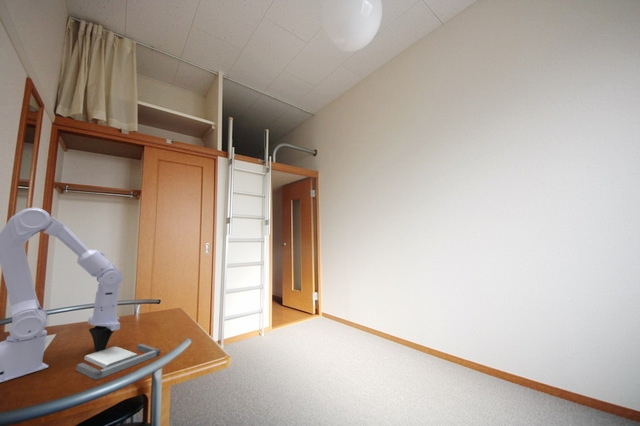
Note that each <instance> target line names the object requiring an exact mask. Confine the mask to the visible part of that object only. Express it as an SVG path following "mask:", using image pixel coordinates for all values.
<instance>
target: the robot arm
mask: <svg viewBox="0 0 640 426" xmlns="http://www.w3.org/2000/svg"><path fill="white" fill-rule="evenodd" d="M42 231H43V234H46V235H49V236H52V237H56V238H57V239H58V240H59V241H60V242H62V243H63V244H64V245H65V246H66V247H67V248H69V250H71V251H72V252H73V253H74V254H75V255H77V261H76V263H77V264H78V265H79V266H81V268H82V269H83V270H84V271H86V272H87V273H88V274H89V275H90V276H91V277H93V278H96V281H97V282H98V284H97V291H96V293H95V300H94V305H93V312H92V313H93V314H92V316H89V317H88V319H87V320H88V321H87V324H88V325H91V326H94V327H91V328H89V330H88V331H89V333H90V334H91V337H92V341H93V347H94V348H93V349H94V352H98V351H101V350H105V349H107V345H108V343H109V340H110V338H111V337H112V335H113V333H114V332H115V331H118V330H120V328H121V322H119V320H120V317H119V316H117V309H118V301H119V295H120V294H119V293H120V284H121V282H122V281H123V279H124V277H123V274H122V272H121V271H120V270H119V269H118V268H116V264H115V263H111V262H110V260H108V258H106V256H105V255H106V254H105V253H104V252H103V251H99V250H98V249H89V248H88V247H87V246H86V244H84V242H82V240H80V239H79V238H78V237H77V236H76V235H75V233H74V232H73V231H71V229H69V227H67V225H65V224H64V223H63V222H61V221H59V220H58V219H57V218H55V217H54V216H52V217H51V215H50V213H49V212H47V211H46V210H45V209H42V208H39V207H27V208H24V209H22V210H19V212H17V213H15V214H14V215H12V216H11V217H10V218H9V219H8V221H7V223H6V224H5V226H4V227H3V228H2V230H1V231H0V268H1V272H2V277H3V280H4V283H5V287H6V290H7V295H8V299H9V303H10V306H11V307H10V309H11V313H10V314H11V319H12V323H11V325H10V327H9V332H8V333H9V335H8V336H7V337H6V339H5V340H3V341H0V383H2V382H3V383H4V382H7V381H9V380H13V379H16V378H19V377H23V376H25V375H28V374H32V373H34V372H38V371H41V370H45V369H47V368H49V364H46V362H43V360H44V359H43V358H44V354H45V347H46V342H47V337H48V335H47V334H48V331H47V330H46V329H45V328H46V326H47V320H48V312H47V311H46V310H45V309H43V308H42V307H41V305H40V301H39V299H38V296H37V293H36V288H35V284H34V279H33V276H32V271H31V269H30V264H29V261H28V260H29V259H28V255H27V253H26V248H25V243H27V242H28V241H29V240H30V239H31V238H33V237H34V235H36V234H38V233H40V232H42Z"/></svg>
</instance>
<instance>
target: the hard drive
mask: <svg viewBox="0 0 640 426" xmlns="http://www.w3.org/2000/svg"><path fill="white" fill-rule="evenodd" d="M137 356H139V354H137V353H135V352H133V351H130V350H127V349H125V348H122V347H119V346H112V347H109V348H105V350H101V351H98V352H96V351H94V352H93V353H89V354H87V355H84V361H87V362H89V363H91V364H93V365H96V366H98V367H99V368H102V369H104V368H107V367H110V366H113V365H115V364H118V363H121V362H123V361H126V360H129V359H132V358H134V357H137Z"/></svg>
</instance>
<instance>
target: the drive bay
mask: <svg viewBox="0 0 640 426" xmlns="http://www.w3.org/2000/svg"><path fill="white" fill-rule="evenodd" d="M136 350H137V351H140V352H143V354H140V355H138V356H137V357H134V358H132V359H129V360H126V361H123V362H121V363H118V364H115V365H113V366H110V367H107V368H102V369H97V368H95V367H93V366H91V365H89V364H87V363H84V362H81V363H78V364H76V371H77V372H78V373H80V374H83V375H84V376H86V377H89V378H91V379H93V380H95V381H96V380H99V379H102V378H104V377H108V376H111V375H113V374H116V373H118V372H120V371H123V370H125V369H128V368H130V367H133V366H136V365H138V364H141V363H144V362H146V361H148V360H150V359H154V358H156V357H158V356H160V355H161V349H159V348H156V347H153V346H149V345H147V344H144V343H139V344H137V345H136Z"/></svg>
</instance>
